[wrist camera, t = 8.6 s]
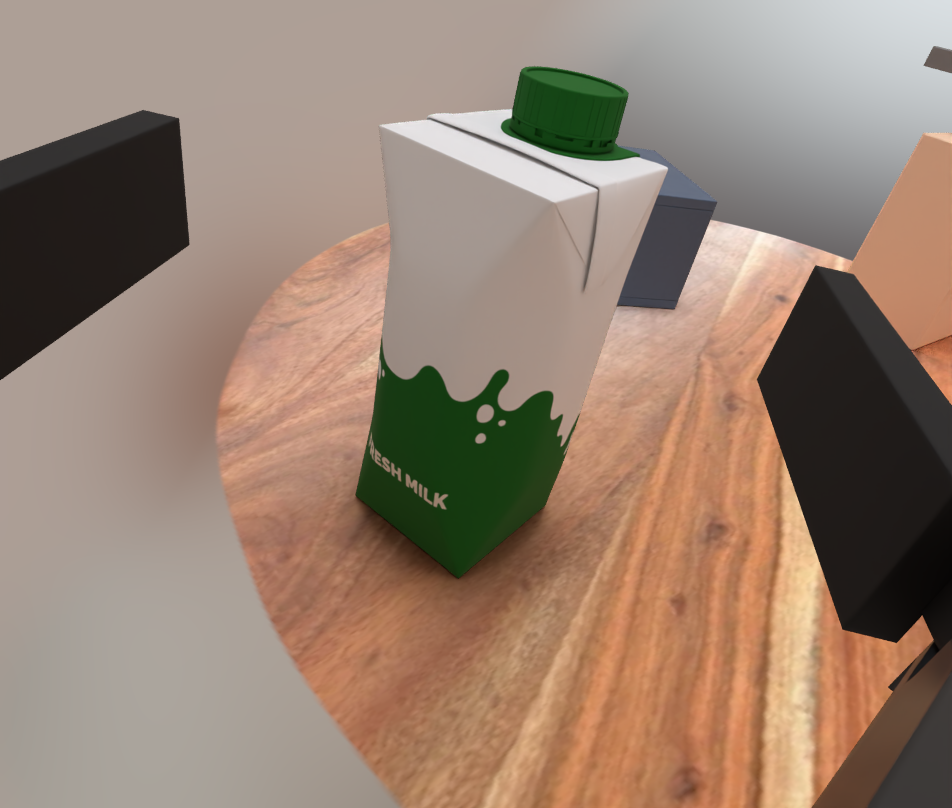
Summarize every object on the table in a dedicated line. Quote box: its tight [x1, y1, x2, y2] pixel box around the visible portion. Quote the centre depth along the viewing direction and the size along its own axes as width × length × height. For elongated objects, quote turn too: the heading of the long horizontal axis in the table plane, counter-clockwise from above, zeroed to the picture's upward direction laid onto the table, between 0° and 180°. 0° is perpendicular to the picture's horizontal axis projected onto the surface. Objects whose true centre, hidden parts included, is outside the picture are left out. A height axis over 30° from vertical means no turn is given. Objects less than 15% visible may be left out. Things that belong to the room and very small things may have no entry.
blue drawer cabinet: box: [617, 146, 717, 309], centre depth 58 cm, size 15×13×10 cm
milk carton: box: [356, 67, 668, 578], centre depth 28 cm, size 9×9×20 cm
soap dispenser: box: [847, 46, 952, 350], centre depth 59 cm, size 13×9×22 cm
